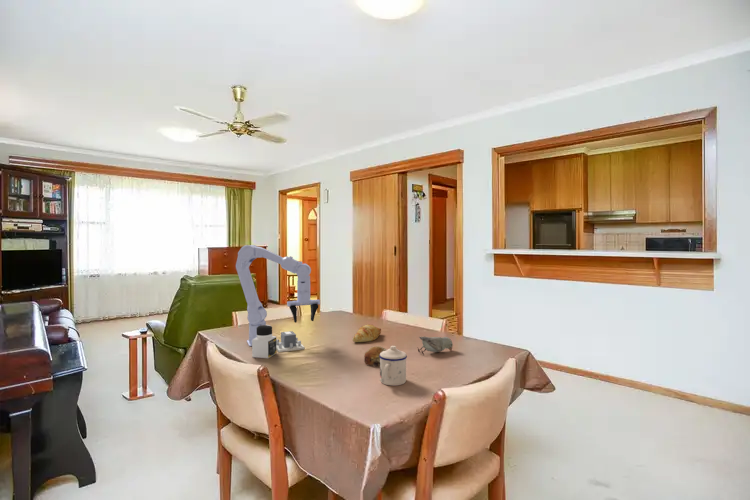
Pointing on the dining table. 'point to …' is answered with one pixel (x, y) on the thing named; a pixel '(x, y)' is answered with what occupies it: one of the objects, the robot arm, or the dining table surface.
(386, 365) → the teacup with lid
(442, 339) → the decorative bird
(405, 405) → the dining table surface
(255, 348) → the medicine bottle
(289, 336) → the block
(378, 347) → the bread roll
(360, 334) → the croissant
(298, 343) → the white peg board
